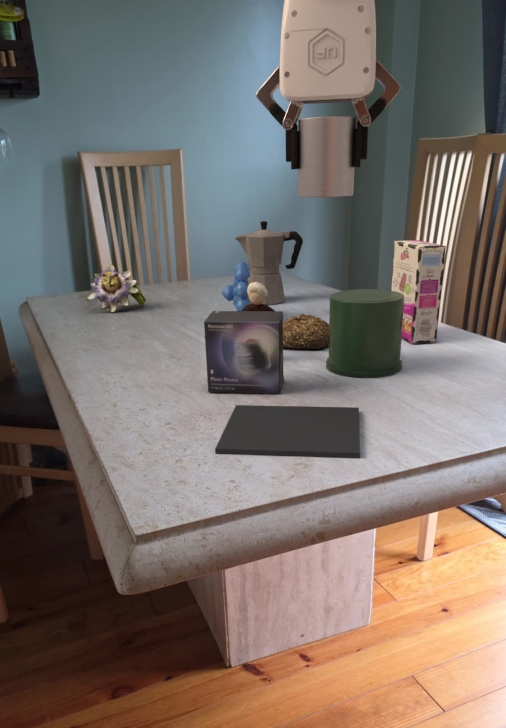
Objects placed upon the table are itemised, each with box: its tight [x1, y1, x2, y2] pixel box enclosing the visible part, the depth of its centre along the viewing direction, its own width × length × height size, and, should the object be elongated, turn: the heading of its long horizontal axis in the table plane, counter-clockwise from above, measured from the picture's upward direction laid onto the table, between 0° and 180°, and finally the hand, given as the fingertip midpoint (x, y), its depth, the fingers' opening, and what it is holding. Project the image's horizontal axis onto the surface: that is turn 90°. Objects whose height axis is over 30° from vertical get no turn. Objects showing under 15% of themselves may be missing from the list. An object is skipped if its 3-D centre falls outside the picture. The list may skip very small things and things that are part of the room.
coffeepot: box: [235, 220, 304, 306], centre depth 144 cm, size 15×9×18 cm, turn 87°
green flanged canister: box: [325, 288, 404, 379], centre depth 95 cm, size 12×12×11 cm
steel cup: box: [297, 115, 357, 198], centre depth 71 cm, size 6×6×8 cm
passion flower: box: [86, 264, 147, 313], centre depth 144 cm, size 11×11×12 cm
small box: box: [203, 310, 285, 395], centre depth 88 cm, size 11×6×10 cm, turn 82°
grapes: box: [221, 260, 251, 311], centre depth 127 cm, size 12×7×12 cm, turn 1°
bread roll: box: [283, 313, 329, 350], centre depth 112 cm, size 13×12×5 cm
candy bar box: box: [390, 239, 447, 345], centre depth 110 cm, size 11×5×16 cm, turn 10°
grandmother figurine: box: [242, 282, 276, 311], centre depth 100 cm, size 8×4×13 cm, turn 92°
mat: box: [214, 404, 361, 459], centre depth 75 cm, size 16×14×1 cm
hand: (326, 166), depth 71 cm, fingers closed on steel cup, 6 cm apart
